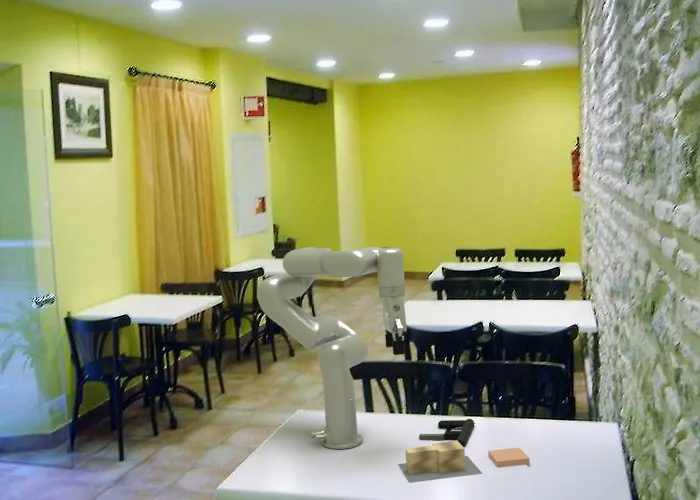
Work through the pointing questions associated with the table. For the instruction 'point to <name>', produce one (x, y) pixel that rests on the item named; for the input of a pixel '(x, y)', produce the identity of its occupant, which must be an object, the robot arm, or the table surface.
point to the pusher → (436, 458)
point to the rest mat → (469, 470)
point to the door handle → (458, 436)
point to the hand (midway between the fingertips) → (395, 350)
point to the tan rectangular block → (508, 457)
